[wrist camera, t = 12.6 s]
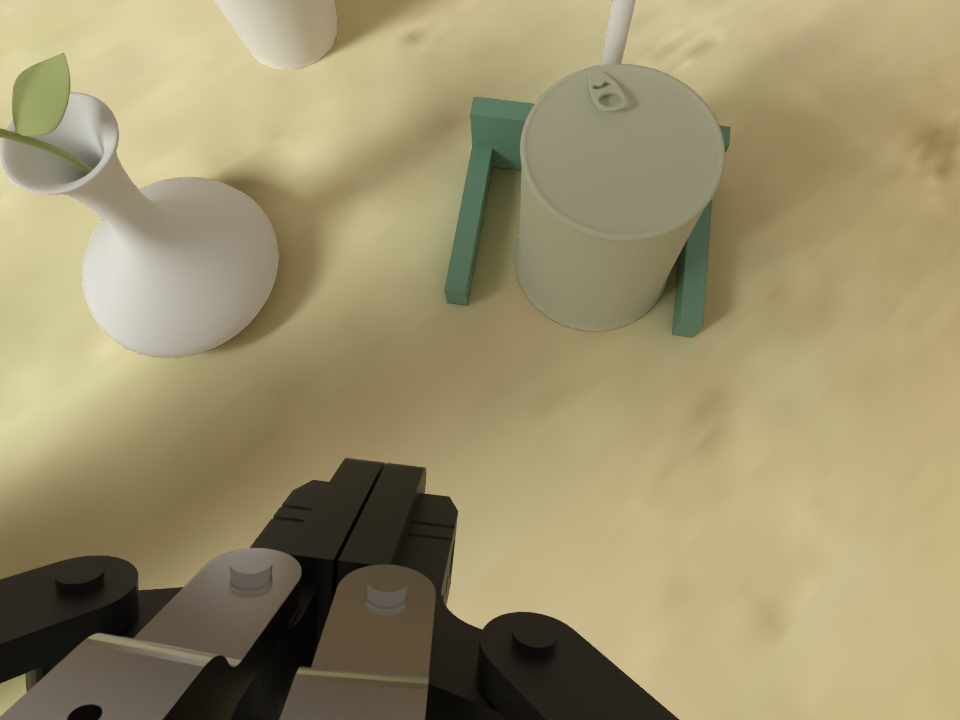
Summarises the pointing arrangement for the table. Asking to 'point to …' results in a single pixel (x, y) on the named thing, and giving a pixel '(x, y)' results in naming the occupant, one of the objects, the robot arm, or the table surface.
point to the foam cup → (284, 29)
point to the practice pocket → (500, 147)
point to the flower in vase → (141, 225)
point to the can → (611, 191)
